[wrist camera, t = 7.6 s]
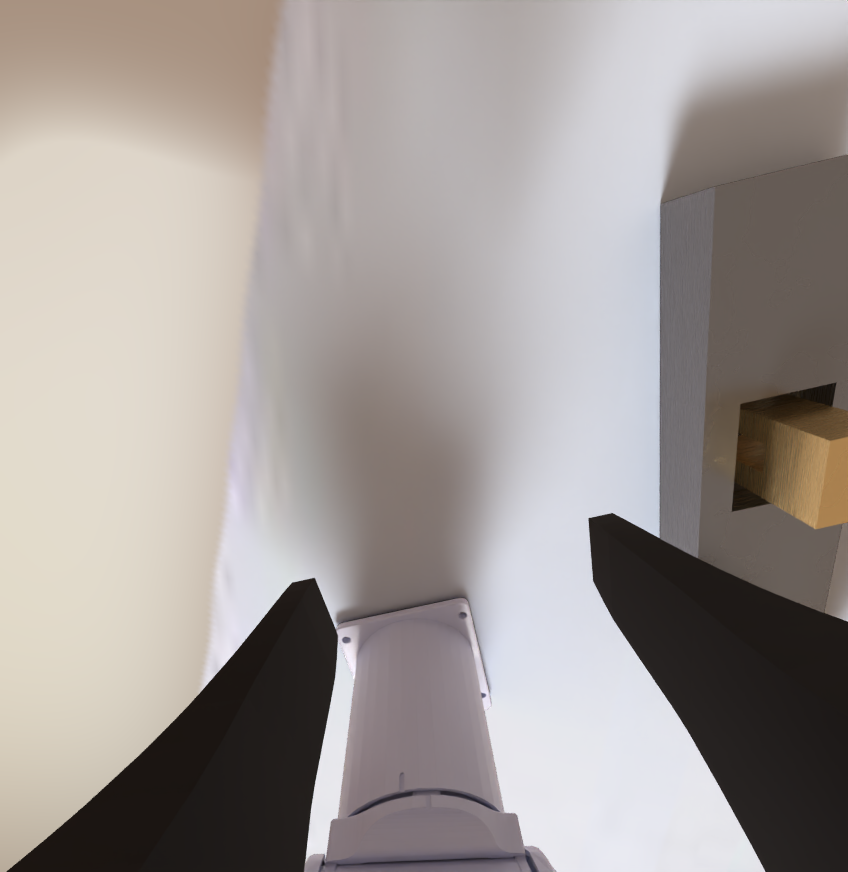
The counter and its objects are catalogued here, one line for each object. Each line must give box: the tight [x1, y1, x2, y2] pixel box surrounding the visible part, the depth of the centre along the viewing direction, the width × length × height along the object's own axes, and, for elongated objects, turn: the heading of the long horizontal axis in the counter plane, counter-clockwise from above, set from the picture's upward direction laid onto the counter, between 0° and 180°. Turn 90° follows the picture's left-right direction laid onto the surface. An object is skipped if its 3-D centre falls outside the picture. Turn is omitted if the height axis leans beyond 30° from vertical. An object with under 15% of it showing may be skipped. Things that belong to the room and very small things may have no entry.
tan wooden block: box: [734, 394, 848, 529], centre depth 17 cm, size 4×2×6 cm, turn 13°
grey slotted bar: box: [660, 155, 848, 613], centre depth 19 cm, size 22×7×3 cm, turn 12°
